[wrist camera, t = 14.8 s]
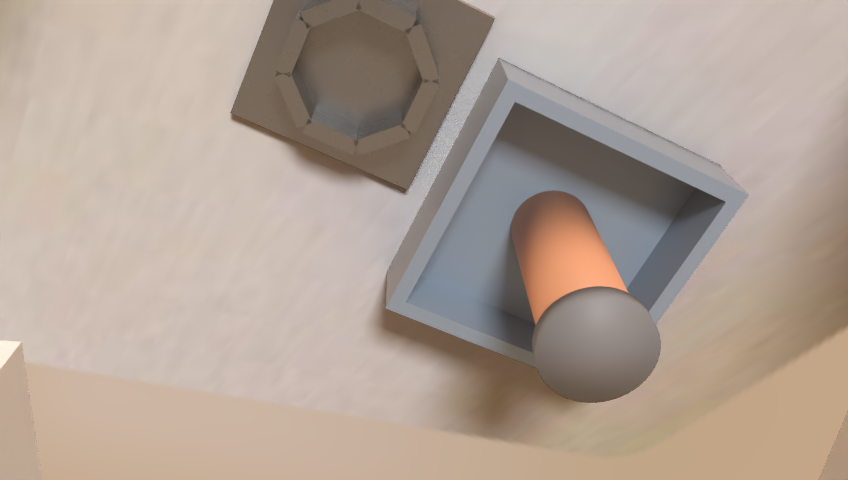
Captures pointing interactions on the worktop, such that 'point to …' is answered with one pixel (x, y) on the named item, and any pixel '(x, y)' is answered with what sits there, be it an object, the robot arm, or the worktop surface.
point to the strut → (580, 303)
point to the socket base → (362, 77)
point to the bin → (547, 171)
